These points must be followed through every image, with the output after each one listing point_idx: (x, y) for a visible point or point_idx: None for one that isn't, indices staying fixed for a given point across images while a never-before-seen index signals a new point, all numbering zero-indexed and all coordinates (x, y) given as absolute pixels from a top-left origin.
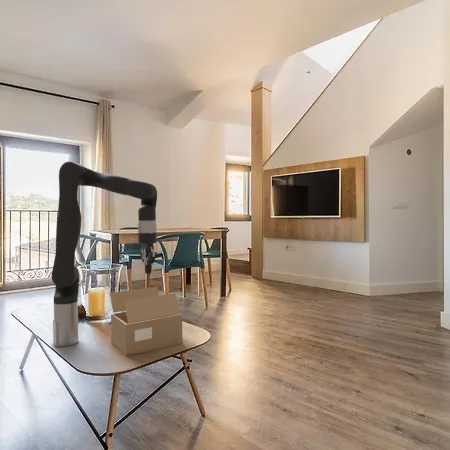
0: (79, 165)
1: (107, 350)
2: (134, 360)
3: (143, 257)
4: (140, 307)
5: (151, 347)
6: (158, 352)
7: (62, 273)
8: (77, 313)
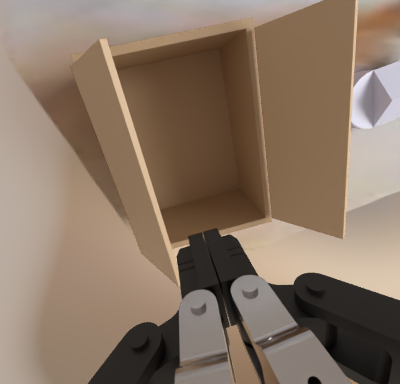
0: None
1: (161, 20)
2: (62, 86)
3: (274, 358)
4: (110, 129)
5: None
6: None
7: None
8: None
